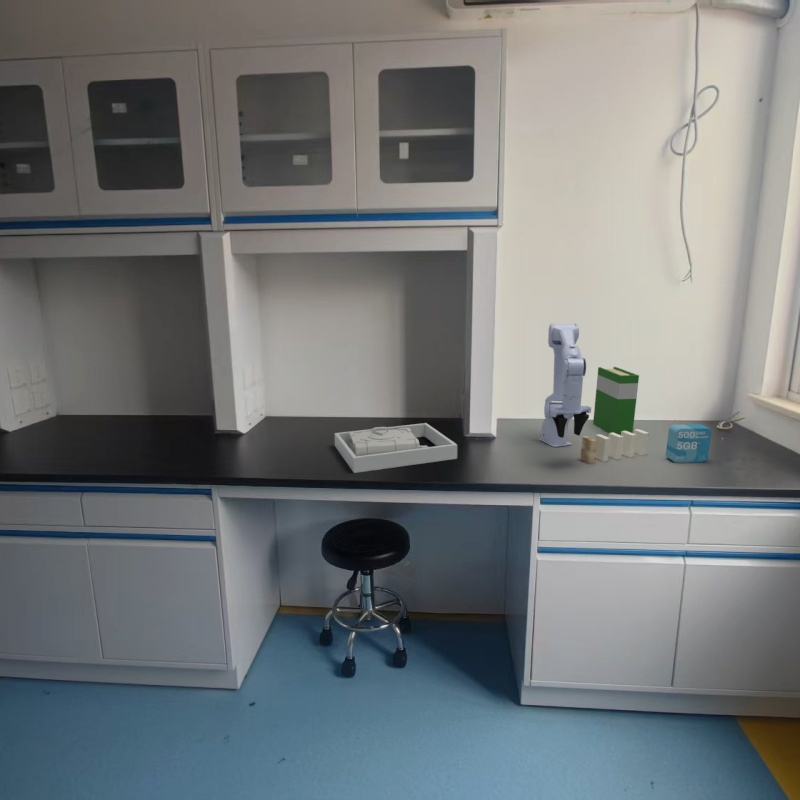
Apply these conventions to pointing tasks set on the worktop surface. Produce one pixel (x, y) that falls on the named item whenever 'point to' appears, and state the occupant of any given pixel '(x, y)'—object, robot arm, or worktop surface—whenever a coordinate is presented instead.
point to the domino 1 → (588, 449)
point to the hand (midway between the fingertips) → (568, 435)
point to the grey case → (382, 441)
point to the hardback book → (615, 400)
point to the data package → (688, 443)
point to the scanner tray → (440, 452)
